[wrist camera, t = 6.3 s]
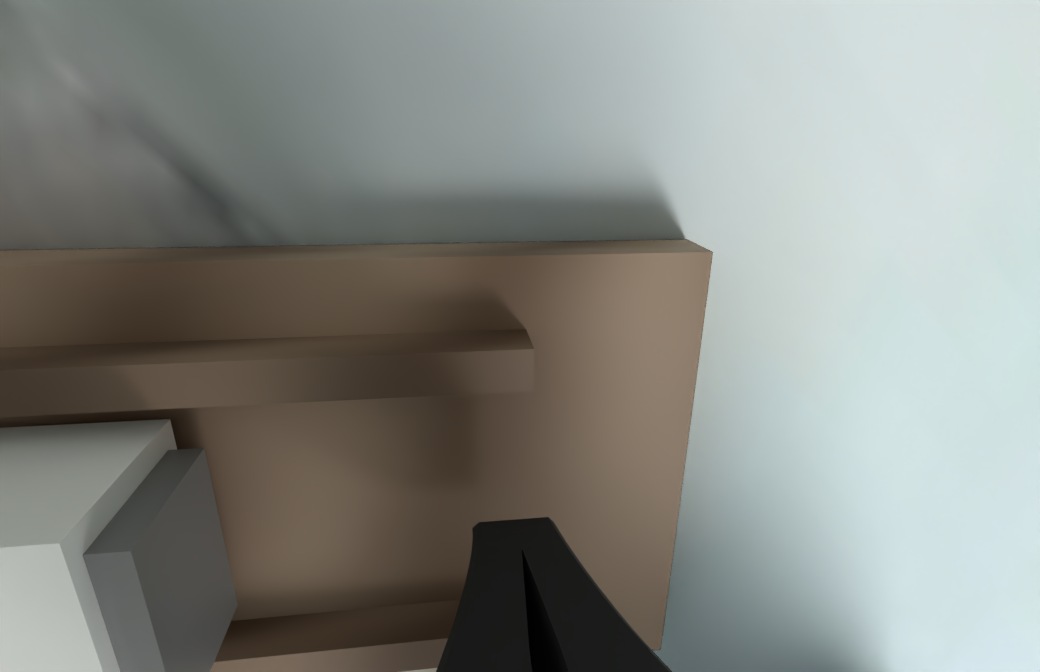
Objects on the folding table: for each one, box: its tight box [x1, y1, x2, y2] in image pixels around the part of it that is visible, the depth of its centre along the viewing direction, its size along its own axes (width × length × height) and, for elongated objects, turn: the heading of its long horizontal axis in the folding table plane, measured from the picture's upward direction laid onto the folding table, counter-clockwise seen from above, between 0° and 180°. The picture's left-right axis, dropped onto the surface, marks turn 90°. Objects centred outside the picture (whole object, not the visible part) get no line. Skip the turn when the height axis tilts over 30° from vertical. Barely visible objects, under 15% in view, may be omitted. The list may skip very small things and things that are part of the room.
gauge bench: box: [0, 239, 713, 672], centre depth 10 cm, size 21×10×6 cm, turn 89°
